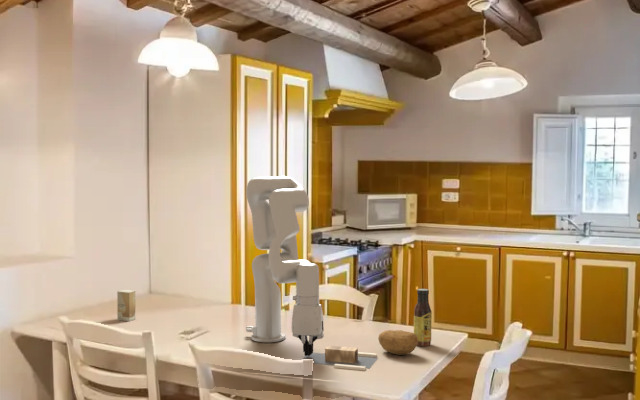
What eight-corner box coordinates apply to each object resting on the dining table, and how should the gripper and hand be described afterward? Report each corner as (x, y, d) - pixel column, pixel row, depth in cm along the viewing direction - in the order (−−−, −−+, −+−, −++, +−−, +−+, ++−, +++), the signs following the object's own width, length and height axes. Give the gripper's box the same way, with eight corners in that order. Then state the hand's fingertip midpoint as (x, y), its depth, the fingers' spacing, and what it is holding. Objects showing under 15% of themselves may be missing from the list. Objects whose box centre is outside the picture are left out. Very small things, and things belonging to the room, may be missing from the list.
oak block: (324, 348, 231) (355, 351, 228) (328, 345, 235) (358, 348, 231) (325, 360, 231) (355, 363, 228) (328, 357, 235) (358, 359, 232)
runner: (295, 365, 228) (295, 361, 228) (311, 351, 243) (311, 348, 243) (367, 371, 220) (367, 368, 220) (379, 357, 236) (379, 353, 236)
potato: (385, 347, 248) (385, 325, 247) (422, 353, 240) (422, 330, 240) (372, 354, 239) (372, 331, 239) (410, 360, 232) (411, 336, 231)
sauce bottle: (427, 348, 247) (427, 292, 245) (410, 345, 250) (410, 290, 249) (434, 343, 252) (434, 288, 251) (418, 341, 256) (418, 287, 254)
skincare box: (117, 320, 292) (116, 291, 291) (123, 318, 296) (123, 289, 295) (129, 321, 289) (129, 292, 288) (136, 319, 293) (135, 290, 292)
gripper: (282, 301, 232) (283, 356, 234) (325, 304, 228) (326, 359, 229) (290, 297, 240) (291, 350, 241) (332, 299, 235) (333, 353, 236)
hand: (308, 354), depth 235 cm, fingers closed
